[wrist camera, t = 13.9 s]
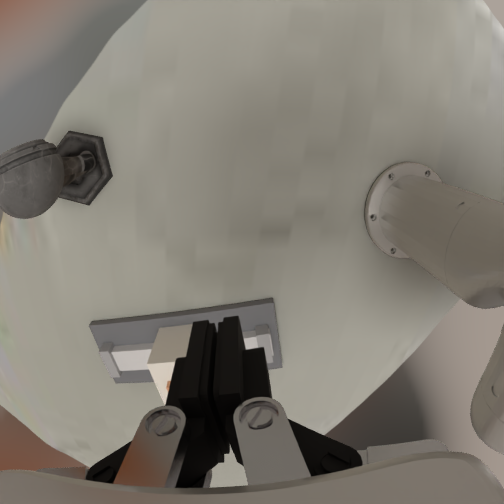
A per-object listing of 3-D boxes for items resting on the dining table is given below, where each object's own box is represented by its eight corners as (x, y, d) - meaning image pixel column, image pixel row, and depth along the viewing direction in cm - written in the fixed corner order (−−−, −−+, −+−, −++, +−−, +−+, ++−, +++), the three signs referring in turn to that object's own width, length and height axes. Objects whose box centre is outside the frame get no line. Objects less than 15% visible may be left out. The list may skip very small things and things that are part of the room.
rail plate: (272, 297, 41) (275, 311, 38) (281, 362, 45) (284, 377, 42) (91, 321, 42) (83, 334, 38) (117, 378, 45) (112, 392, 42)
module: (195, 323, 41) (187, 367, 33) (208, 369, 44) (204, 414, 35) (159, 327, 41) (144, 370, 33) (175, 372, 44) (166, 417, 35)
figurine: (98, 118, 33) (25, 114, 18) (118, 195, 36) (56, 231, 22) (43, 143, 33) (-36, 155, 19) (63, 214, 36) (-7, 255, 22)
